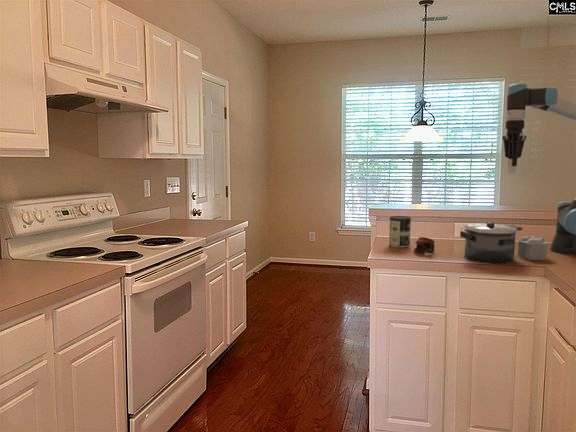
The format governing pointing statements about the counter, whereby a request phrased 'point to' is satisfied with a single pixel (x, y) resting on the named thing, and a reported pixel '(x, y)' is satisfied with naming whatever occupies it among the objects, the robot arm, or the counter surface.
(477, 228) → the lid
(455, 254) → the counter surface
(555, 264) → the counter surface
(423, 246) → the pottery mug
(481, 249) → the pot
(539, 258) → the lumpy-topped squat cylinder
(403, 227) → the coffee can
